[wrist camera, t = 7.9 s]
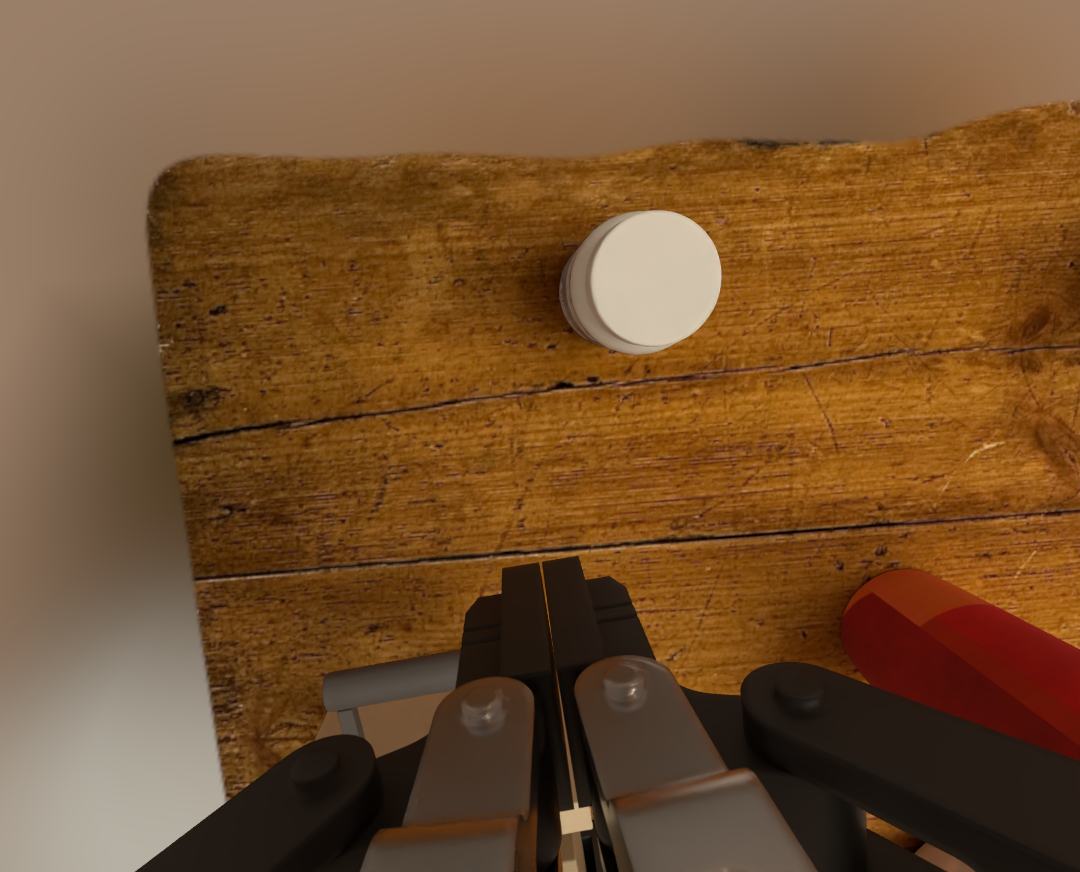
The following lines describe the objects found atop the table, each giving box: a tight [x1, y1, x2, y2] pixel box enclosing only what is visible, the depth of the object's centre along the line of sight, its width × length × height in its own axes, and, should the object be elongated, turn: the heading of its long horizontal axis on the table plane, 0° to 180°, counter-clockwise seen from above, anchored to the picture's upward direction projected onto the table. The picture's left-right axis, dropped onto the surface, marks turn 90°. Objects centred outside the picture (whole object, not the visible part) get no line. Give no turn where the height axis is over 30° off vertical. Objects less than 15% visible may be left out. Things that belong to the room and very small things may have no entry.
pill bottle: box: [559, 210, 721, 355], centre depth 22 cm, size 5×5×8 cm
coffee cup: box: [841, 569, 1080, 761], centre depth 22 cm, size 8×8×15 cm
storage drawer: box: [314, 649, 593, 872], centre depth 25 cm, size 18×12×8 cm, turn 10°
